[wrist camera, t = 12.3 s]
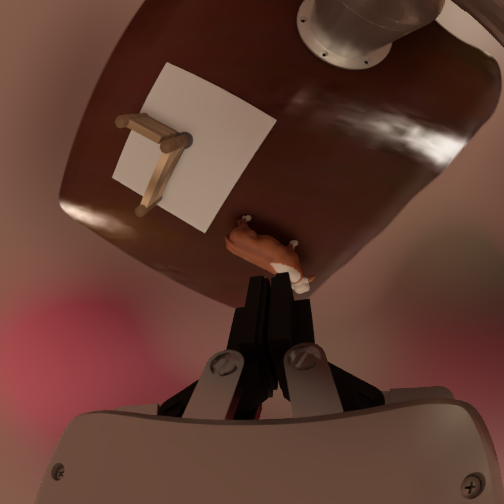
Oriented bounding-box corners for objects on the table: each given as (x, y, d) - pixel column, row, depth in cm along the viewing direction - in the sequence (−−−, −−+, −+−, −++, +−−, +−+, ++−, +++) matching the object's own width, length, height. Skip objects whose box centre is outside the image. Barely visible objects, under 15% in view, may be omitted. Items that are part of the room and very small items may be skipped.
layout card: (167, 62, 30) (166, 62, 29) (276, 120, 33) (276, 120, 32) (113, 176, 38) (112, 177, 38) (205, 232, 41) (204, 233, 41)
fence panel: (181, 132, 34) (163, 137, 28) (191, 138, 34) (175, 143, 29) (151, 198, 39) (132, 214, 33) (160, 203, 39) (142, 220, 34)
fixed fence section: (141, 111, 33) (118, 113, 27) (178, 130, 34) (160, 135, 28) (137, 120, 34) (113, 124, 28) (173, 140, 35) (154, 147, 29)
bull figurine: (301, 273, 43) (304, 306, 36) (226, 227, 41) (214, 254, 34) (318, 253, 41) (325, 284, 34) (242, 203, 39) (232, 227, 32)
